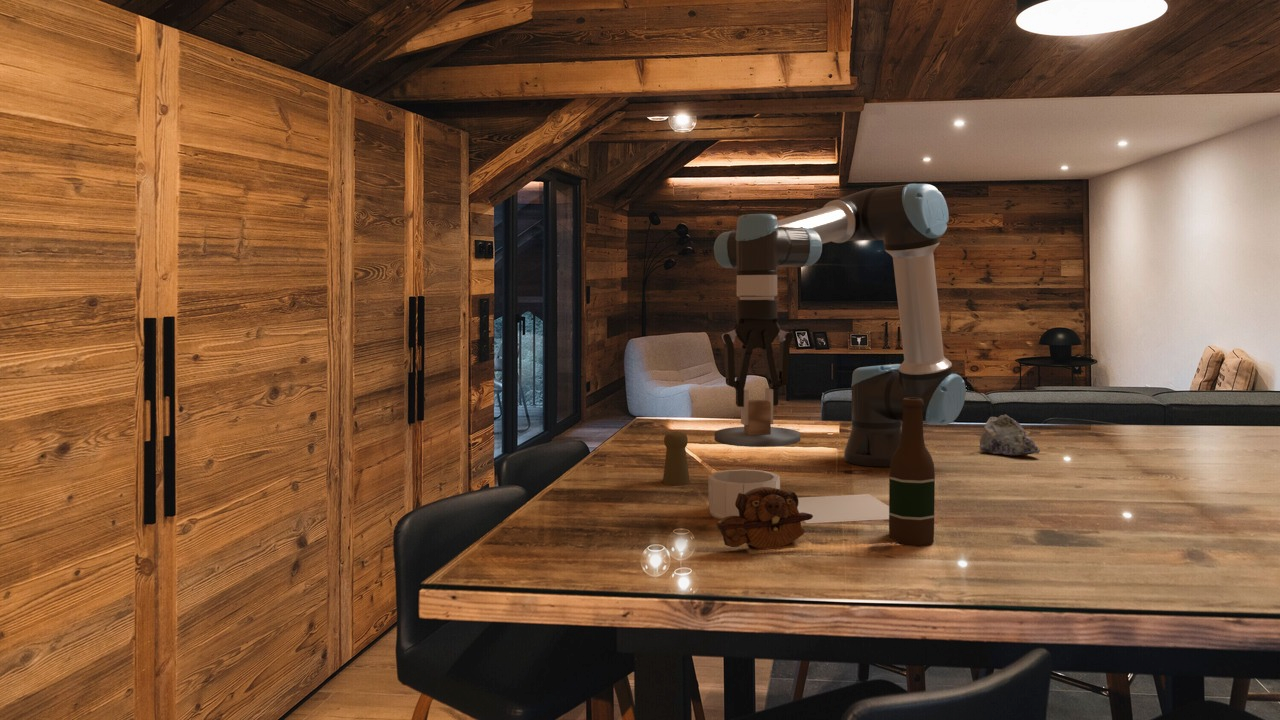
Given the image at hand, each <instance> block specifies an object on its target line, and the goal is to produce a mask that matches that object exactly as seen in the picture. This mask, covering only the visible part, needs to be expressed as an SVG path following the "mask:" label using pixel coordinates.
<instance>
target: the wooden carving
mask: <svg viewBox="0 0 1280 720" xmlns="http://www.w3.org/2000/svg"><path fill="white" fill-rule="evenodd" d="M798 498H799V497H798V495H797V493H796V492H795V491H792V490H787V491H786V490H784V489H781V488H780V489H776V488H771V487H760V488H755V489H752V490H750V491H748V492H747V493H745V494H742V493H739V494H738V497H737V499H736V503H735V505H736V508H737V509H738V510H739V516H728V517H723V519H722V520H721V519H720V520H719V521H717V522H716V528H717V529H718V530H719V532H720V534H721V536H722V539H723V542H724V546H727V547H731V548H738V547H741V546H742V545H745V544H747V546H751V547H754V548H756V549H773V548H781V547H784V546H787V545H789V544H791V543H793V542H795V541H797V540H798V539H800V538H801V537H802V536H803V535H804V534H805V533H806V530H805V529H804V528H803V527H802V523H801V522H804V521H805V520H810V519H812V517H813V515H812V514H808V513H804V512H801V513H799V511H798V508H797V507H798Z"/></svg>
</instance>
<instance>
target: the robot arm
mask: <svg viewBox="0 0 1280 720" xmlns="http://www.w3.org/2000/svg"><path fill="white" fill-rule="evenodd" d="M949 220H950V219H949V209H948V205H947V201H946V199H945V197H944V195H943V194H942V192H941V191H940V190H938V188H937V187H936V186H934V185H932V184H929V183H908V184H900V185H892V186H884V187H883V186H882V187H872V188H867V189H864V190H861V191H857V192H855V193H851V194H849V195H845V196H843V197H839V198H836V199H833V200H830V201H829V202H827V203H825V204H824V206H823V207H821V208H818V209H814V210H811V211H807V212H803V213H800V214H796V215H792V216H789V217H785V218H782V219H781V218H780V219H779V220H778V218H777V215H775V214H773V213H750V214H749V213H748V214H741V215H740V216H739V217H738V218H737V221H736V230H735V229H734V230H730V231H726V232H725V231H724V232H722V233H720V234H719V235H718V236H717V237H716V239H715V241H714V245H713V252H714V253H713V254H714V258H715V261H716V262H717V264H718V265H719V266H721V267H722V268H726V269H733V270H736V296H737V298H738V297H739V299H738V300H737V301H736V323H735V326H734V327H733V330H731V331H729V332H725V333H724V332H722V333H721V334H720V338H721V341H722V345H723V346H724V349H723V350H724V372H725V384H726V386H729V387H731V388H734V390H735V405H736V407H739V408H740V423H741V424H742V425H743V426H744V425H749V400H750V399H749V395H750V393H749V391H750V390H749V389H746V388H745V386H746V384H747V383H746V381H747V378H748V372H749V368H750V367H749V366H750V362H751V357H752V354H753V351H754V350H756V349H760V350H761V353H762V357H763V361H764V366H765V371H766V376H767V380H768V381H767V382H768V385H769V387H766V388H765V389H764V394H765V395H764V397H765V398H764V400H766V401H769V402H771V425H774V406H775V407H777V406H778V405H779V390H780V388H781V387H783V386H788V384H789V372H790V349H791V348H790V345H791V343H792V340H793V338H794V334H793V332H789V331H786V330H783V329H781V327H780V325H779V323H778V301H777V299H775V297H777V296H778V268H781V267H782V268H784V267H785V268H789V267H790V268H791V267H796V268H804V267H811V266H813V265H814V264H815V263H817V262H818V261H819V259H820V257H821V256H822V255H821V254H822V253H823V245H824V244H827V243H830V242H832V243H834V244H835V243H836V244H842V243H845V242H850V241H883V247H884V248H883V249H884V251H885V252H886V253H887V254H889V255H890V256H891V257H892V262H893V271H894V280H895V288H896V289H895V290H896V297H897V305H898V306H897V307H898V315H899V325H900V333H901V343H902V351H903V361H902V362H901V363H893V364H891V363H889V364H882V365H881V364H880V365H871V366H862V367H858V368H856V369H854V370H853V372H852V377H851V378H852V379H851V385H850V386H851V431H850V433H849V436H848V439H847V442H846V446H845V448H844V451H843V452H844V455H843V456H844V462H846V463H849V464H852V465H857V466H864V467H878V468H879V467H881V468H882V467H890V465H891V461H892V458H893V456H894V453H895V452H896V450H897V449H898V447H899V446H900V442H901V435H902V421H903V406H902V401H903V399H904V398H908V397H916V398H921V399H923V402H924V406H923V407H922V416H923V425H925V424H927V425H929V426H935V425H938V426H947V425H950V424H952V423H953V422H954V421H955V420H957V418H958V417H959V415H960V414H961V411H962V409H963V407H964V405H965V401H966V392H967V390H966V382H965V380H964V379H963V377H962V376H961V375H960V374H957V373H954V372H953V364H952V362H951V361H950V360H949V359H948V358H946V357H945V355H944V354H945V353H944V343H943V335H942V334H943V333H942V326H941V325H942V324H941V316H940V306H939V305H940V304H939V295H938V288H937V277H936V267H935V266H936V265H935V255H934V252H935V250H936V249H937V247H938V246H939V245H940V237H942V236H943V235H944V234H945V232H946V231H947V228H948V225H947V224H948V223H949ZM736 337H737V338H738V339H739V341H740V343H741V344H742V346H741V351H740V352H741V353H740V358H739V365H738V368H737V369H738V370H737V373H736V371H735V369H736V367H735V366H736V365H735V347H734V343H736V342H735V341H736ZM777 337H778V341H779V351H778V353H779V354H778V374H777V370H776V369H777V368H776V364H775V359H774V353H773V352H774V350H773V345H772V344H773V342H774V341H775V339H776V338H777ZM735 373H736V374H735Z"/></svg>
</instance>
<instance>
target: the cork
mask: <svg viewBox="0 0 1280 720" xmlns="http://www.w3.org/2000/svg"><path fill="white" fill-rule="evenodd" d="M663 444H664V446H665V448H666V453H665V459H664V460H665V461H664V468H663V469H664V470H663V477H662V484H664V485H668V486H684V485H688V484H690V483H691V479H690V472H689V465H688V457H687V451H686V448H687V445H688V444H689V443H688V436H687V434H686V433H684V432H680V431H671V432H668V433H666V434H665V435H664V438H663Z"/></svg>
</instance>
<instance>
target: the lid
mask: <svg viewBox="0 0 1280 720" xmlns="http://www.w3.org/2000/svg"><path fill="white" fill-rule="evenodd" d="M771 425H772V424H771V402H769V401H766V400H765V399H749V425H743V426H737V427H736V426H735V427H734V426H733V427H726V428H721V429H718V430H716V431H715V432H714V437H713V438H714V441H715V442H716V443H720V444H723V445H728V446H734V447H746V448H748V447H749V448H771V447H772V448H773V447H783V446H790V445H796V444H798V443H799V442H801V436H802V435H801V432H800V431H798V430H795V429H791V428H785V427H784V428H783V427H776V426H771Z"/></svg>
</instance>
